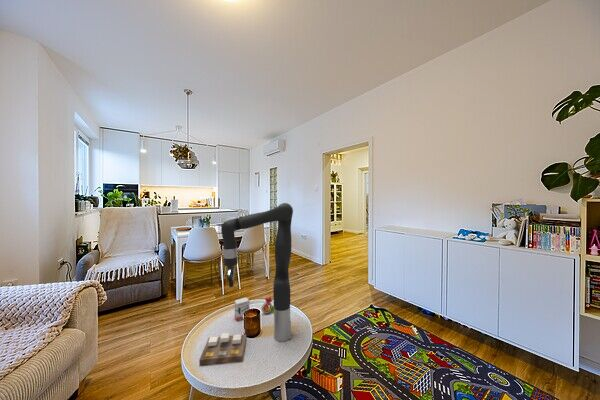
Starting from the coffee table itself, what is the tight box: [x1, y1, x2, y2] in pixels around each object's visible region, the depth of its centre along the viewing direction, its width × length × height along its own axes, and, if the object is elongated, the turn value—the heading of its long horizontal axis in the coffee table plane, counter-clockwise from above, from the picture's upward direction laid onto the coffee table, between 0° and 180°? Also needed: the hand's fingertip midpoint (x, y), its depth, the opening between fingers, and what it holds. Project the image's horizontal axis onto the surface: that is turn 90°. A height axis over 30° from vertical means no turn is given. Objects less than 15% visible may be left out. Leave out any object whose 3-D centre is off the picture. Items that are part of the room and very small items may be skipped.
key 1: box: [208, 336, 219, 346], centre depth 117 cm, size 4×4×2 cm
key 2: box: [232, 334, 242, 344], centre depth 119 cm, size 4×4×2 cm
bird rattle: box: [261, 296, 274, 315], centre depth 151 cm, size 6×11×9 cm
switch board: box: [198, 334, 247, 367], centre depth 116 cm, size 20×16×3 cm
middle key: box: [220, 332, 231, 342], centre depth 118 cm, size 4×4×2 cm
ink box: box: [234, 297, 250, 322], centre depth 146 cm, size 8×5×12 cm, turn 123°
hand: (231, 286), depth 127 cm, fingers closed
